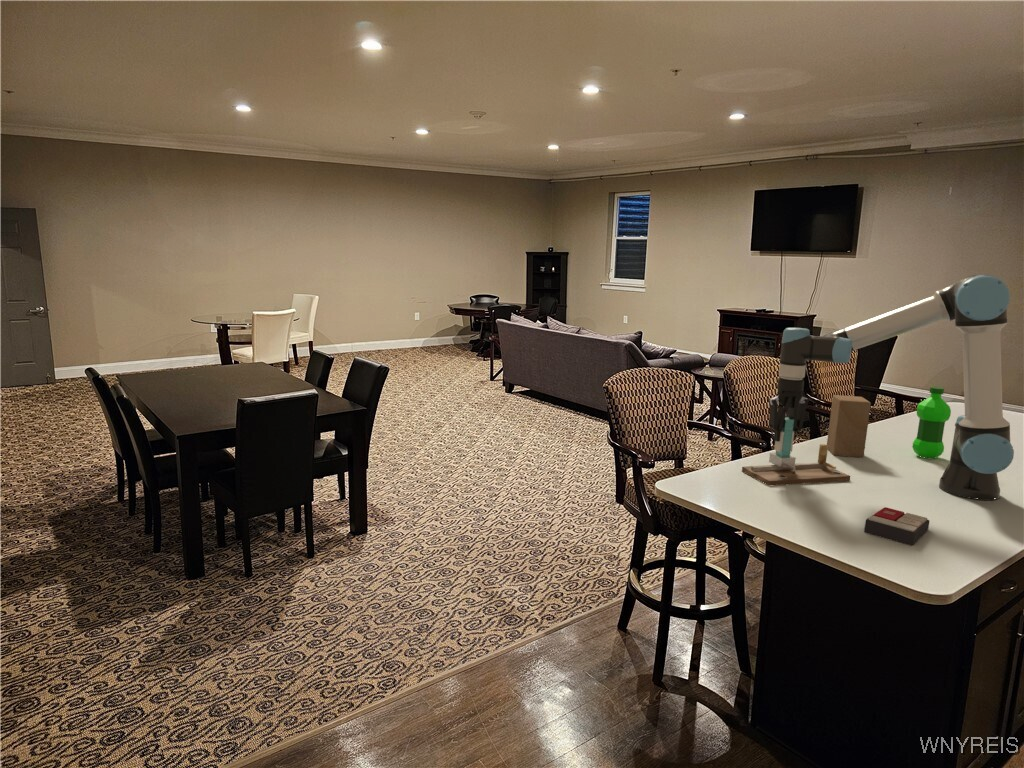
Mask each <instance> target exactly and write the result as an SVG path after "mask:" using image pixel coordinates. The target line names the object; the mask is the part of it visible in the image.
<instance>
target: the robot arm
mask: <svg viewBox="0 0 1024 768" xmlns="http://www.w3.org/2000/svg"><path fill="white" fill-rule="evenodd" d="M1010 301H1011V293H1010V289H1009V288H1008V287H1007V284H1006V283H1005V282H1004V281H1003V280H1001V278H998V277H997V276H994V275H990V274H972V275H970V276H969V275H968V276H966V277H964V278H962V279H960V280H958V281H956V282H955V283H952V284H951V285H950V284H949V285H948V286H947V287H943V288H940V289H939V290H935V292H934V294H933V295H932V296H930V297H926V298H923V299H921V300H918V301H916V302H911V303H910V304H907V305H905V306H901V307H899V308H897V309H893V310H891V311H888V312H886V313H882V314H880V315H877V316H874V317H872V318H869V319H866V320H864V321H861V322H857V323H855V324H853V325H850V326H847V327H845V328H843V329H842V328H841V329H840V330H839V329H838V330H836V331H832V332H831V331H830V332H828V333H826V334H824V335H823V336H819V335H817V336H816V335H811V333H810V329H808V328H805V327H804V328H802V327H785V329H784V330H783V332H782V333H783V334H782V338H781V345H780V346H781V347H780V358H779V369H778V376H779V377H778V378H777V383H776V384H777V385H776V387H777V393H776V394H775V396H774V397H769V398H767V401H768V404H769V416H768V418H769V419H768V421H769V422H768V428H770V429H772V430H773V431H774V434H773V441H774V451H775V452H776V451H778V452H782V446H783V437H784V432H783V431H782V428H783V424H784V420H785V417H786V414H787V412H788V417H789V418H791V419H794V424H793V433H792V442H791V451H790V453H792V452H793V445H794V441H796V436H797V433H798V432H799V430H802V429H803V427H804V426H803V425H804V421H805V415H806V412H807V406H808V404H809V402H810V398H807V397H804V396H803V393H802V392H803V391H804V385H805V380H804V378H805V377H806V369H807V368H806V366H807V361H817V362H826V363H835V364H848V363H850V361H851V357H852V355H851V354H852V351H856V350H858V349H861V348H865V347H867V346H870V345H873V344H876V343H880V342H882V341H885V340H888V339H891V338H894V337H896V336H899V335H902V334H905V333H908V332H909V333H910V332H912V331H914V330H917V329H921V328H922V327H925V326H928V325H932V324H934V323H938V322H940V321H947V322H950V321H951V322H952V321H953V320H954V322H955V323H954V325H955V328H956V329H957V330H959V331H960V332H961V335H962V337H961V339H962V340H961V341H962V369H963V370H962V371H963V397H964V400H963V401H964V415H962V414H961V415H959V416H958V417H956V420H955V421H956V422H955V423H954V426H955V427H954V434H953V440H952V446H951V451H950V458H949V463H948V465H947V466H946V468H945V470H944V472H943V474H942V476H941V477H940V478H939V484H938V486H939V488H940V489H941V490H942V491H944V492H946V491H947V492H946V493H948V494H951V493H952V494H951V495H955V496H958V495H960V496H959V497H962V496H964V497H963V498H967V497H970V498H969V499H972V498H978V499H977V500H980V499H994V498H998V497H999V498H1000V494H1001V487H1000V484H999V478H998V473H1001V472H1003V471H1004V470H1005V469H1007V468H1008V467H1009V466H1010V465H1011V464H1012V462H1013V460H1014V456H1015V455H1014V454H1015V450H1014V447H1013V445H1012V443H1011V424H1010V422H1009V421H1008V420H1007V419H1005V418H1004V415H1003V414H1004V413H1003V409H1004V408H1003V377H1002V376H1003V375H1002V373H1003V372H1002V344H1001V343H1002V337H1001V336H1002V335H1001V334H1002V333H1001V331H1002V329H1004V327H1006V326H1007V324H1008V306H1009V304H1010ZM999 498H998V499H999Z"/></svg>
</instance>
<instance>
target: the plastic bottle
mask: <svg viewBox="0 0 1024 768" xmlns="http://www.w3.org/2000/svg"><path fill="white" fill-rule="evenodd" d="M944 391H945V388H943V387H939V386H930V388H929V393H930V396H929V397H928V398H925V399H924V400H922V401H920V402H919V403H918V404H917V407H916V416H917V417H918V418H919V422H918V427H917V434H916V437H915V438H914V440H913V441H912V446H911V447H912V450H913V452H914V453H915V454H916V455H917V456H918V457H919V456H921V457H925V458H924V459H926V458H935V459H936V458H938V457H940V456H941V455H943V453H944V452H945V451H944V450H945V445H944V442H943V438H944V431H945V425H946V422H947V421H949V420H950V417H951V414H952V411H951V410H952V409H951V406H949V404H948V403H947V402H946V401H945V400H944V399H943V398H942V395H944ZM921 457H920V458H921Z"/></svg>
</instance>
